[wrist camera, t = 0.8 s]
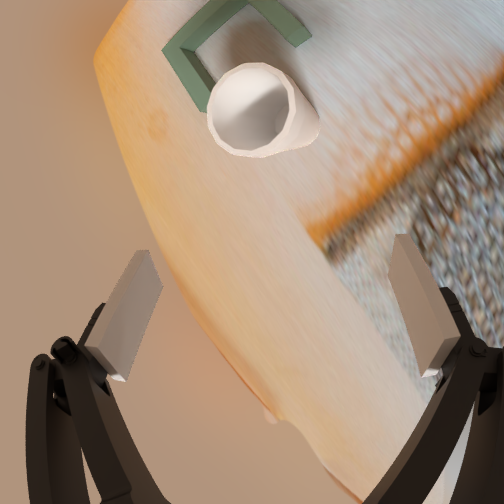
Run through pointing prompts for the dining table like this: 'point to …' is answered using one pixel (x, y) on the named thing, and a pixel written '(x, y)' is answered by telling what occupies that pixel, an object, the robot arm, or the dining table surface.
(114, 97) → the dining table surface
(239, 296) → the dining table surface
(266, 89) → the foam cup
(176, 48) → the putting pocket
